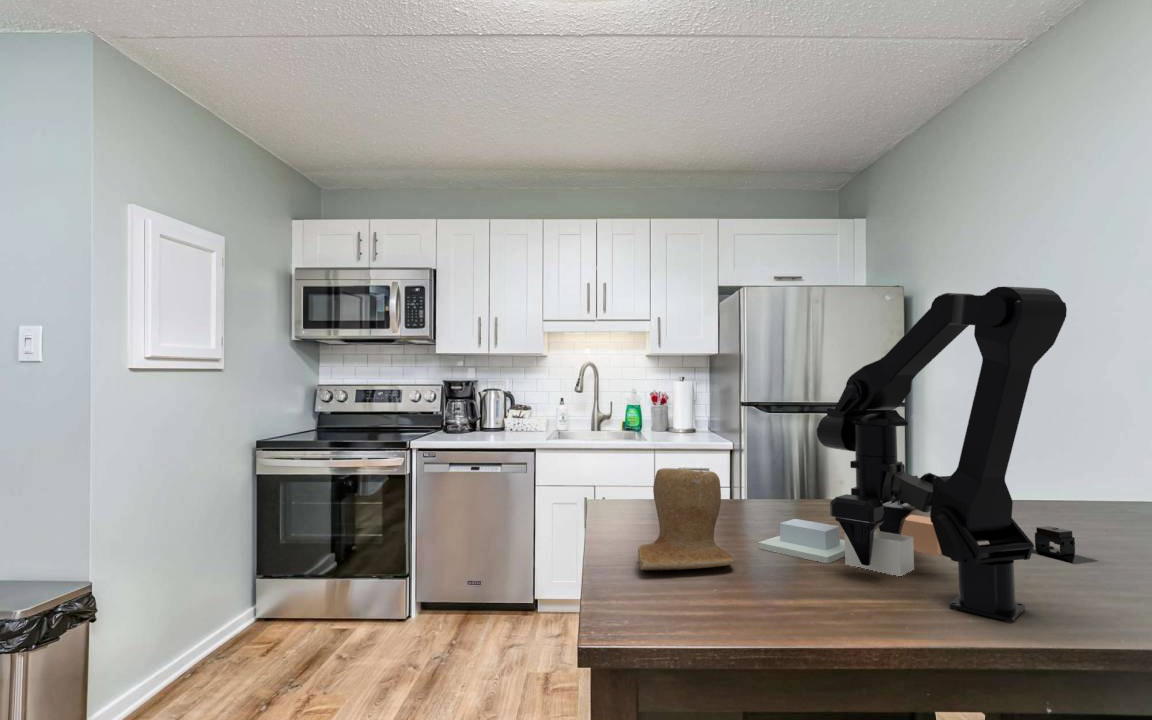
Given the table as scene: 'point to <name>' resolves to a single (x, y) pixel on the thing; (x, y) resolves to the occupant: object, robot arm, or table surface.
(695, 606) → the table surface
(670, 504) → the brown upright flared piece
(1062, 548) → the black mechanical block
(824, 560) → the baseplate
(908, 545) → the ivory brick
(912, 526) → the terracotta brick
